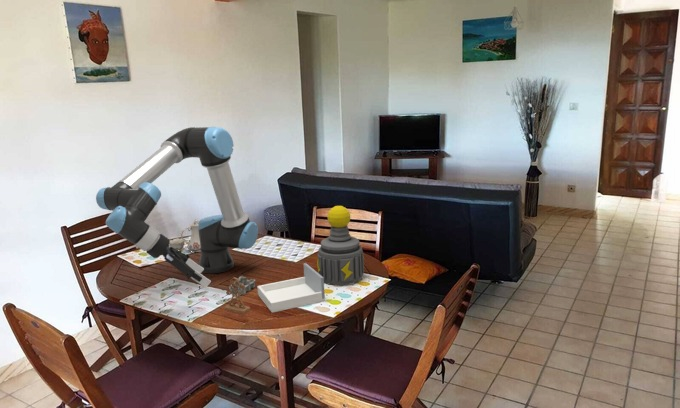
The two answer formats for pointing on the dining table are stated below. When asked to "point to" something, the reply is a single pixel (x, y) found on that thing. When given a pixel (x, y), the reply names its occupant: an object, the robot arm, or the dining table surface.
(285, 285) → the holder tray
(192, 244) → the chinaware
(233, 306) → the brown openwork figurine
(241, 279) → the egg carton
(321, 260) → the decorative lamp
